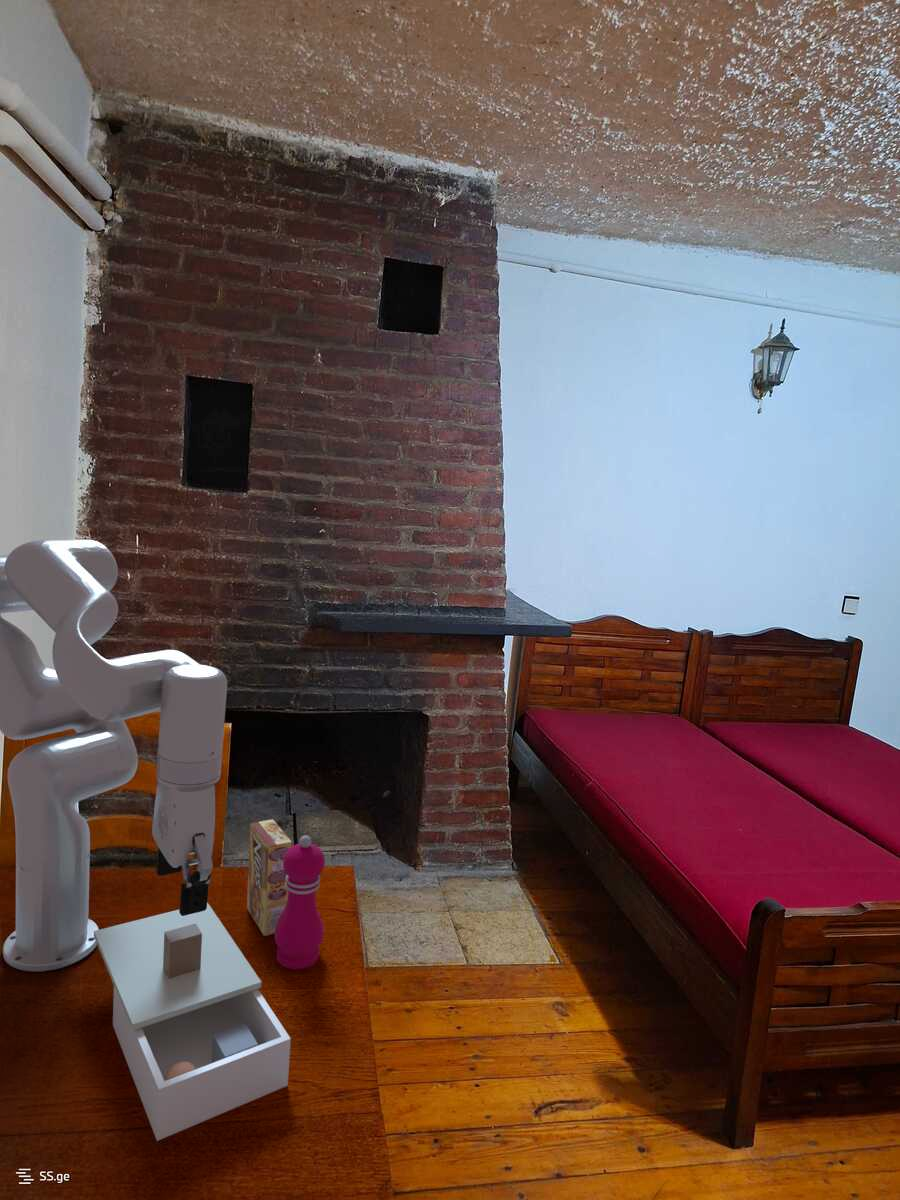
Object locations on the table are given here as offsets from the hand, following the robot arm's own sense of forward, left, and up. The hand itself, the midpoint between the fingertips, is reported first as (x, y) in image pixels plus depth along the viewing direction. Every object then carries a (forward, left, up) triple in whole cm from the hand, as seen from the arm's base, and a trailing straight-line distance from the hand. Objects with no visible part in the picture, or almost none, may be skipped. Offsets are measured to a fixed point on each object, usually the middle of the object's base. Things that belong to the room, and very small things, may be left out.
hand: (180, 891), depth 97 cm
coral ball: (+13, -3, -18) cm, 22 cm away
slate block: (+12, +3, -18) cm, 22 cm away
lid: (-2, 0, -11) cm, 11 cm away
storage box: (+8, 0, -19) cm, 20 cm away
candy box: (-16, +19, -19) cm, 31 cm away
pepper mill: (-4, +19, -19) cm, 27 cm away
